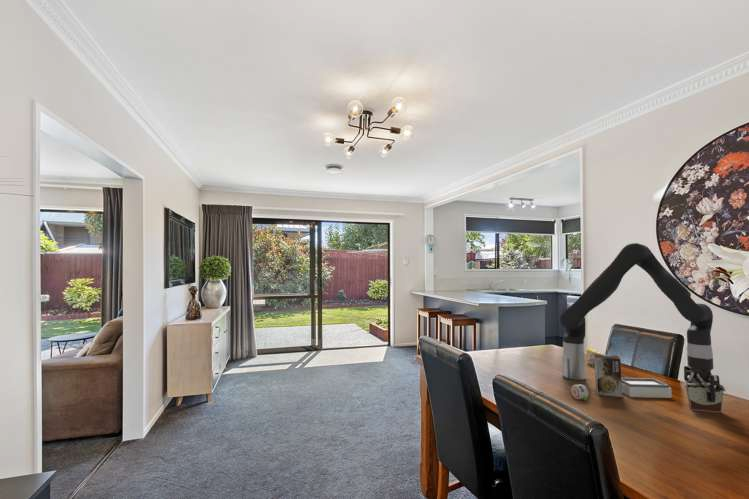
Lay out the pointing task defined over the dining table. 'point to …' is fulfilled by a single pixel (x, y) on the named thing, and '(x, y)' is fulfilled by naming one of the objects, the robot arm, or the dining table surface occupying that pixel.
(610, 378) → the coffee box
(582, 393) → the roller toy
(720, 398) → the food container
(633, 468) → the dining table surface
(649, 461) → the dining table surface
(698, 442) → the dining table surface
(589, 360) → the candy box
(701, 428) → the dining table surface
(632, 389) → the base
